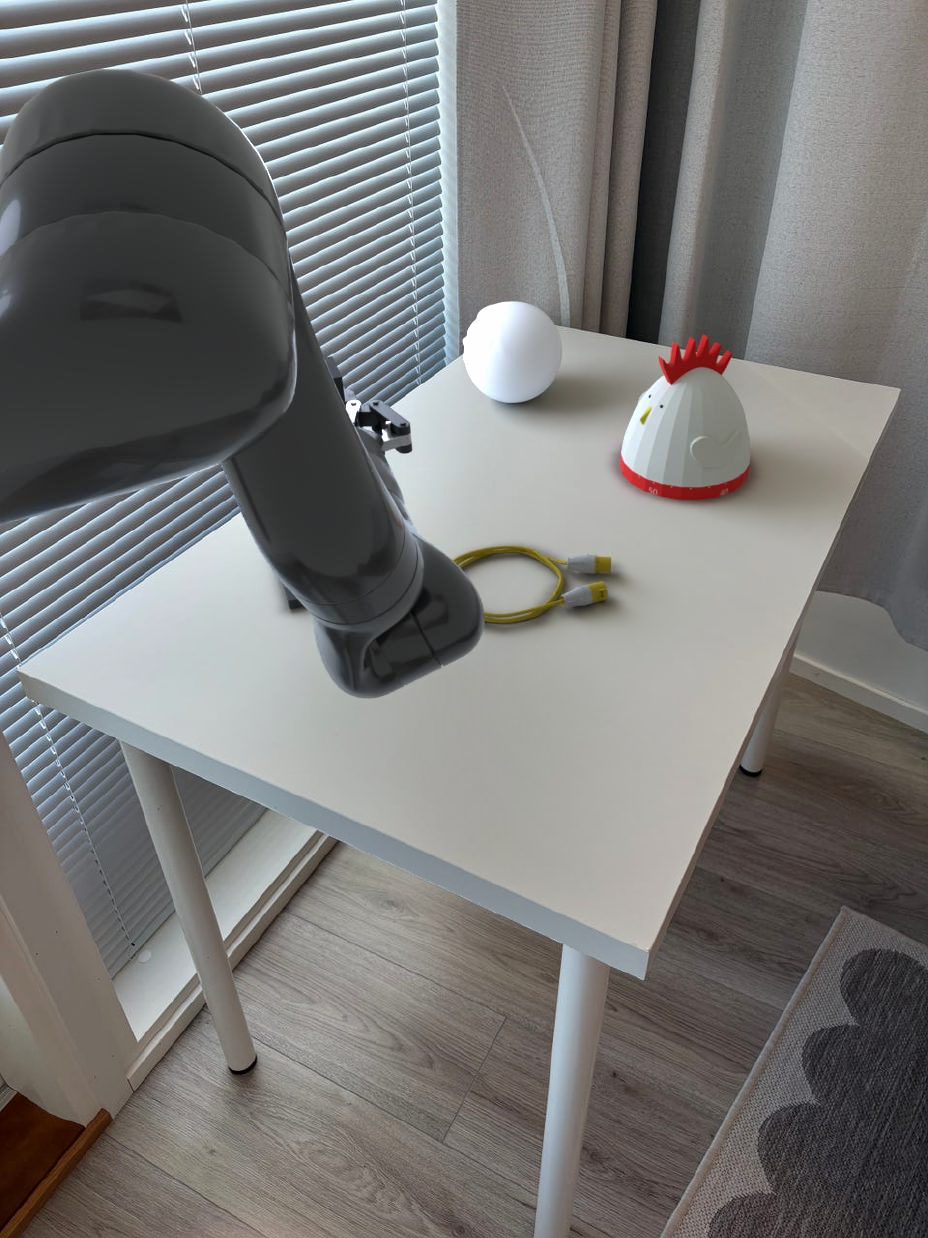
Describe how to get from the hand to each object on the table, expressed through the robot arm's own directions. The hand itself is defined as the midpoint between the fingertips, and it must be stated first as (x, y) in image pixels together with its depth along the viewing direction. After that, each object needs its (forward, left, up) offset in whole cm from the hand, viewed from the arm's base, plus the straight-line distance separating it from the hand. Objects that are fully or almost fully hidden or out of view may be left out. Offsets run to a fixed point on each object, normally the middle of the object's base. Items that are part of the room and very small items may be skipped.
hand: (311, 401), depth 84 cm
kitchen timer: (+40, +3, -17) cm, 43 cm away
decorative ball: (+28, +26, -17) cm, 42 cm away
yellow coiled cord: (+16, -12, -17) cm, 26 cm away
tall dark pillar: (0, -3, -6) cm, 7 cm away
